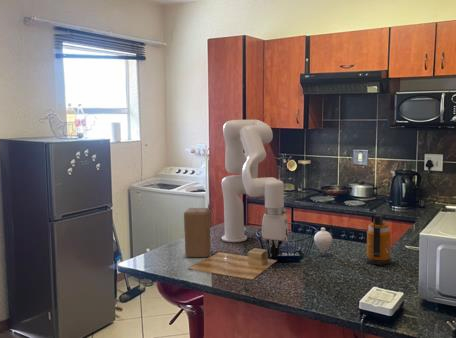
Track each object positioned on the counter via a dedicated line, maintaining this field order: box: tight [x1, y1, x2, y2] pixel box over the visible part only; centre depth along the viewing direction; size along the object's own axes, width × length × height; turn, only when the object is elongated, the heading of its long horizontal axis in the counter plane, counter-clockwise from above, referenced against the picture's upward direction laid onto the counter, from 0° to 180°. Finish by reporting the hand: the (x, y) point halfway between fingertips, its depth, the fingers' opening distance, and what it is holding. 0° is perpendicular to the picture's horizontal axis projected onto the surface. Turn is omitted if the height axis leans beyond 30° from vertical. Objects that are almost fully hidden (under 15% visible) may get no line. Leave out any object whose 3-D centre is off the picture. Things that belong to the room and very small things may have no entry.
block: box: [183, 207, 212, 258], centre depth 196 cm, size 10×10×20 cm
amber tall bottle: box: [366, 213, 391, 266], centre depth 180 cm, size 9×11×20 cm
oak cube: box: [247, 247, 269, 266], centre depth 184 cm, size 6×6×5 cm
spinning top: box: [313, 227, 333, 256], centre depth 192 cm, size 8×8×12 cm
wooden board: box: [188, 251, 278, 280], centre depth 182 cm, size 24×28×1 cm
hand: (275, 256), depth 180 cm, fingers closed
